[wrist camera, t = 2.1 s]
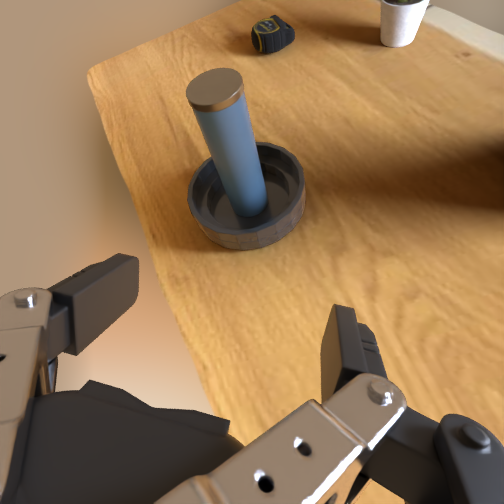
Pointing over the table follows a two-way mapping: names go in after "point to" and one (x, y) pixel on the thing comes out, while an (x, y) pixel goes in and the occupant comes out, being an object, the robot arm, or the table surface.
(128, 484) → the robot arm
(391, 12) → the house plant
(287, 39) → the tape measure
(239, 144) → the canister
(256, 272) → the table surface
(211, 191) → the bowl
